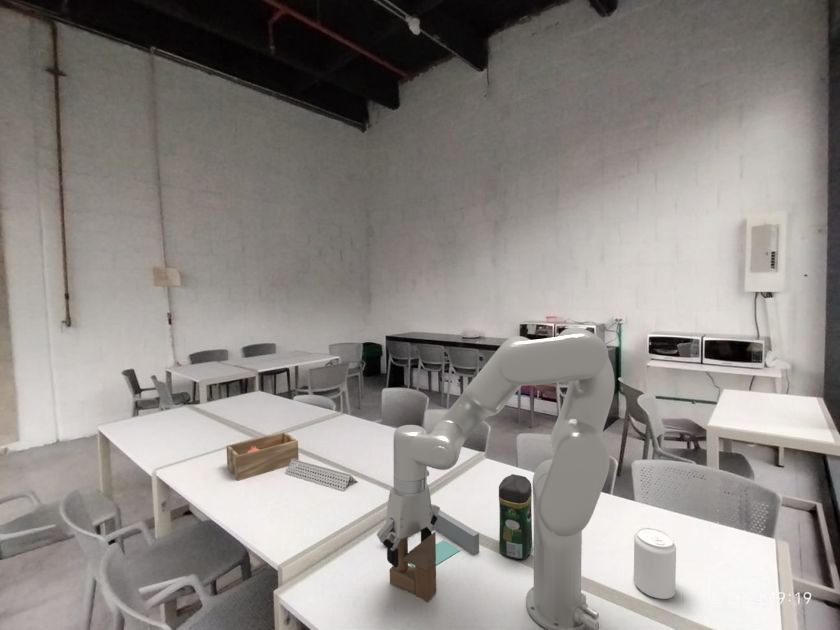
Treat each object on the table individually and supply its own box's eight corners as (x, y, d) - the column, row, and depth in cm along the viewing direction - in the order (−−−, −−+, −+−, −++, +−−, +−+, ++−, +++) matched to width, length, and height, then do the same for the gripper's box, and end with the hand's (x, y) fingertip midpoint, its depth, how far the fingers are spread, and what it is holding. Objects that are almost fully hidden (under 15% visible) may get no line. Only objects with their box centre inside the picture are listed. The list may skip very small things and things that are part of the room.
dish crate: (298, 462, 160) (297, 440, 160) (238, 480, 146) (237, 456, 145) (285, 452, 171) (284, 431, 171) (227, 468, 156) (226, 445, 156)
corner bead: (359, 483, 144) (358, 469, 143) (342, 494, 136) (342, 480, 136) (301, 466, 158) (300, 454, 158) (282, 476, 150) (282, 463, 150)
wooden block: (428, 603, 87) (427, 523, 86) (389, 584, 93) (387, 509, 92) (437, 592, 90) (435, 515, 89) (398, 574, 96) (397, 501, 95)
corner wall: (479, 551, 104) (478, 533, 104) (430, 583, 93) (429, 562, 93) (430, 520, 118) (430, 504, 118) (383, 544, 107) (382, 526, 107)
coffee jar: (505, 534, 111) (505, 469, 110) (534, 542, 107) (534, 475, 106) (495, 555, 102) (494, 484, 101) (526, 564, 99) (526, 491, 98)
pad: (460, 550, 104) (459, 550, 104) (422, 574, 96) (422, 573, 96) (444, 540, 109) (444, 539, 109) (406, 561, 100) (406, 560, 100)
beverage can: (660, 574, 95) (661, 525, 94) (683, 600, 86) (685, 547, 86) (626, 575, 94) (627, 526, 94) (647, 602, 86) (648, 548, 85)
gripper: (428, 465, 98) (427, 532, 100) (368, 487, 87) (368, 562, 88) (449, 476, 93) (448, 547, 94) (388, 501, 82) (388, 581, 83)
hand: (410, 554), depth 91 cm, fingers open, 9 cm apart
